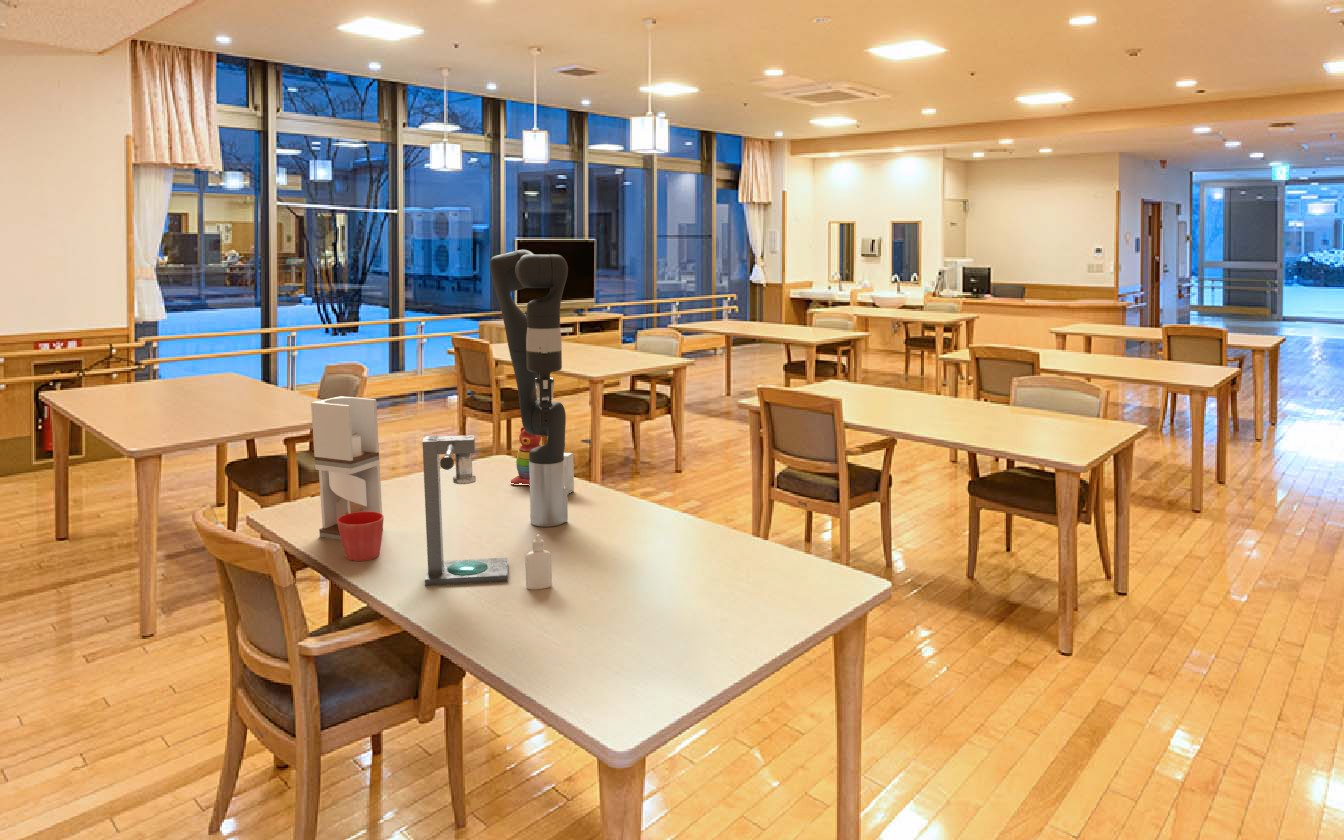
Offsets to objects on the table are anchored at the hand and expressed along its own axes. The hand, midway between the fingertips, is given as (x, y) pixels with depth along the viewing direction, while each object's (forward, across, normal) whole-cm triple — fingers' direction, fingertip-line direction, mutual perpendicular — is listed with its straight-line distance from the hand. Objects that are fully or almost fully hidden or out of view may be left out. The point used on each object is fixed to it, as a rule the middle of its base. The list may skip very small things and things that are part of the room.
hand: (545, 422), depth 206 cm
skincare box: (+36, -75, +7) cm, 84 cm away
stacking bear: (+36, -87, -2) cm, 95 cm away
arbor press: (+36, 0, -18) cm, 41 cm away
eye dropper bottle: (+36, +4, -2) cm, 37 cm away
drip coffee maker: (+36, -42, -49) cm, 74 cm away
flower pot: (+36, -23, -44) cm, 61 cm away
